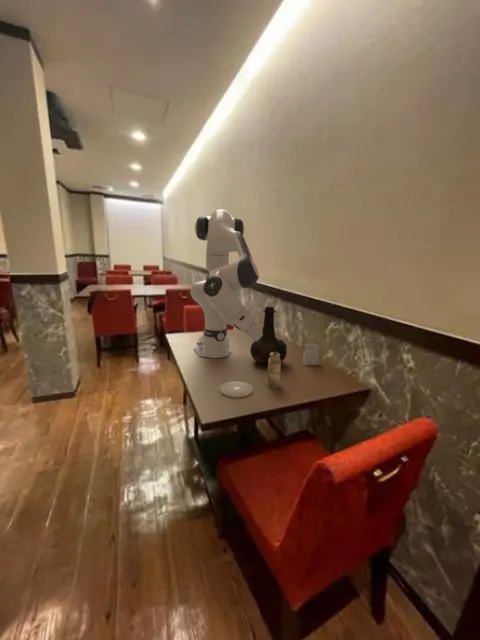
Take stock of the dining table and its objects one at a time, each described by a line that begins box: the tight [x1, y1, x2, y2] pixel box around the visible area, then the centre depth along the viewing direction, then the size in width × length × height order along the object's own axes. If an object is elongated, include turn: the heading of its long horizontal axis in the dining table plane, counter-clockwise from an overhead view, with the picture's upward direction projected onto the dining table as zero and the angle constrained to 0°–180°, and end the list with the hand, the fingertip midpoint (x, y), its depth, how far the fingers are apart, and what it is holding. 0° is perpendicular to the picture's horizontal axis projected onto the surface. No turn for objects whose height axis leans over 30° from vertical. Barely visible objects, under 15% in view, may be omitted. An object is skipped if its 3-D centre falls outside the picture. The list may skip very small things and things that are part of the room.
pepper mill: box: [267, 352, 282, 389], centre depth 126 cm, size 5×5×14 cm
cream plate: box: [219, 380, 254, 399], centre depth 121 cm, size 13×13×1 cm
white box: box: [302, 343, 320, 366], centre depth 153 cm, size 4×7×10 cm, turn 96°
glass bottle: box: [249, 306, 288, 367], centre depth 151 cm, size 18×18×28 cm
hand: (248, 332), depth 120 cm, fingers open, 8 cm apart
